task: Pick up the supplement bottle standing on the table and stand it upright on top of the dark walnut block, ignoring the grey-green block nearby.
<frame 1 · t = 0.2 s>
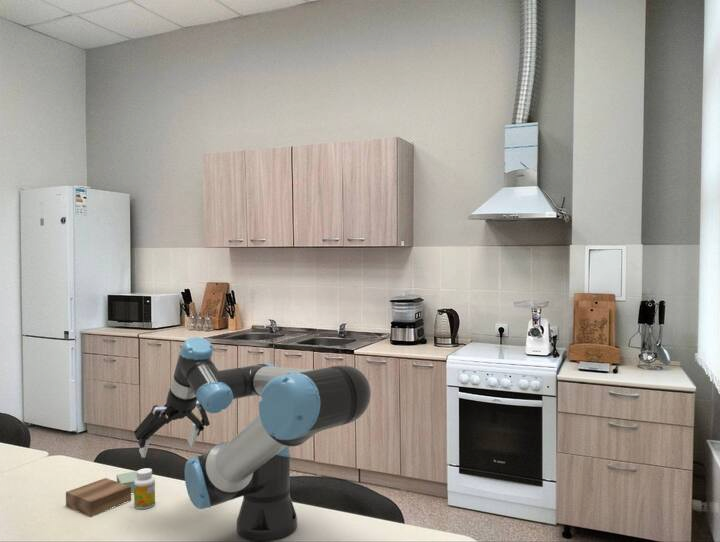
hand: (166, 448, 156), 16 cm above the table, tool tilted 30°, fingers open, 13 cm apart
walnut block: (98, 503, 158), on the table
greygreen block: (133, 489, 169), on the table
supplement bottle: (144, 506, 157), on the table
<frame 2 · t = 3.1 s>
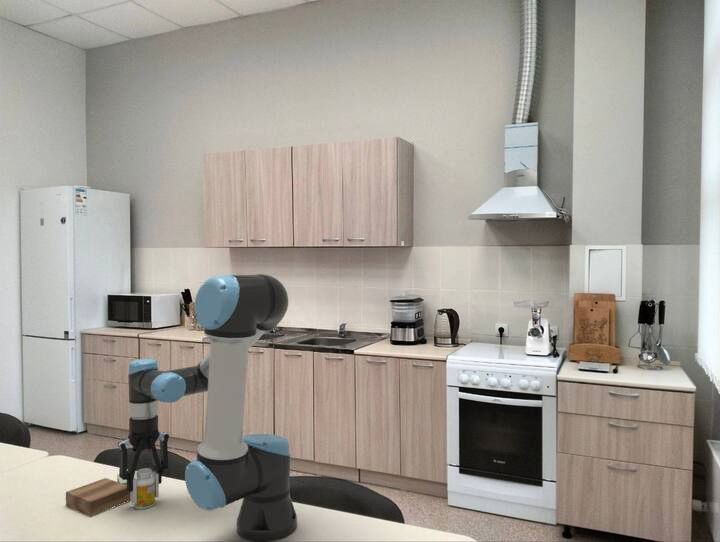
hand: (144, 498, 157), 2 cm above the table, tool pointing down, fingers closed on supplement bottle, 5 cm apart
supplement bottle: (144, 506, 157), on the table, touching gripper
everything else where it was.
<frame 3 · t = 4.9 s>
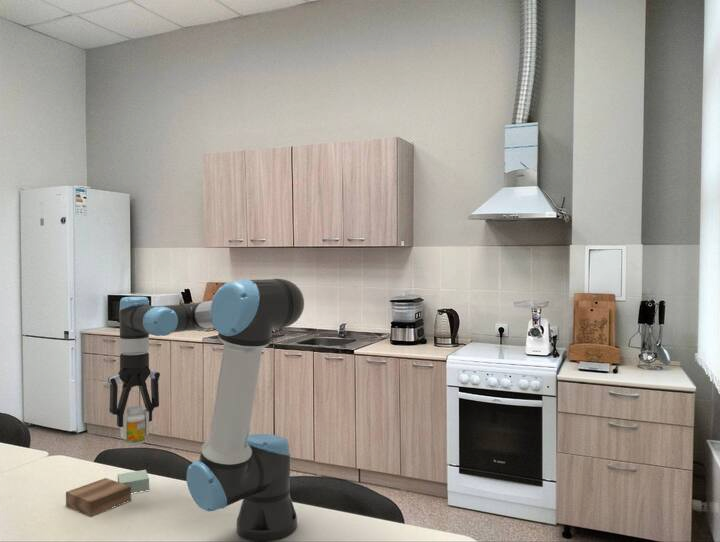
hand: (134, 435, 157), 19 cm above the table, tool pointing down, fingers closed on supplement bottle, 5 cm apart
supplement bottle: (134, 442, 157), point 17 cm above the table, touching gripper
everything else where it was.
when the fingers open (6 cm above the table, at t = 7.2 s): supplement bottle stays where it is, resting on walnut block.
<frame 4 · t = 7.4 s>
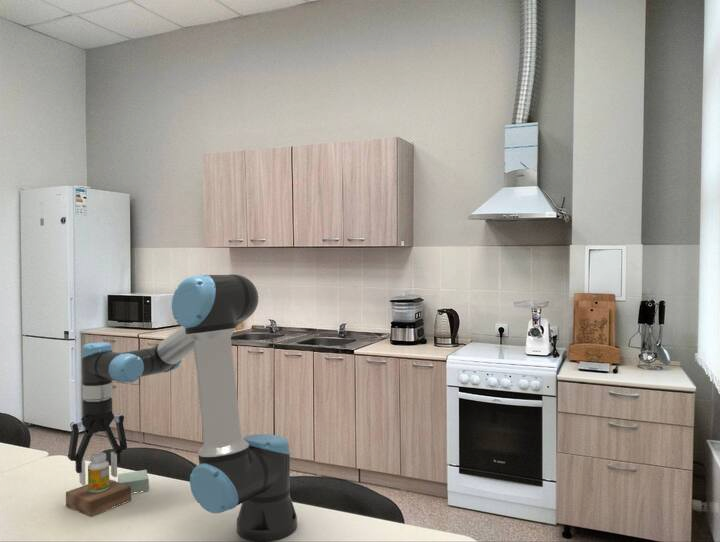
hand: (98, 479, 158), 7 cm above the table, tool pointing down, fingers open, 8 cm apart
supplement bottle: (98, 489, 158), point 4 cm above the table, touching walnut block
everything else where it was.
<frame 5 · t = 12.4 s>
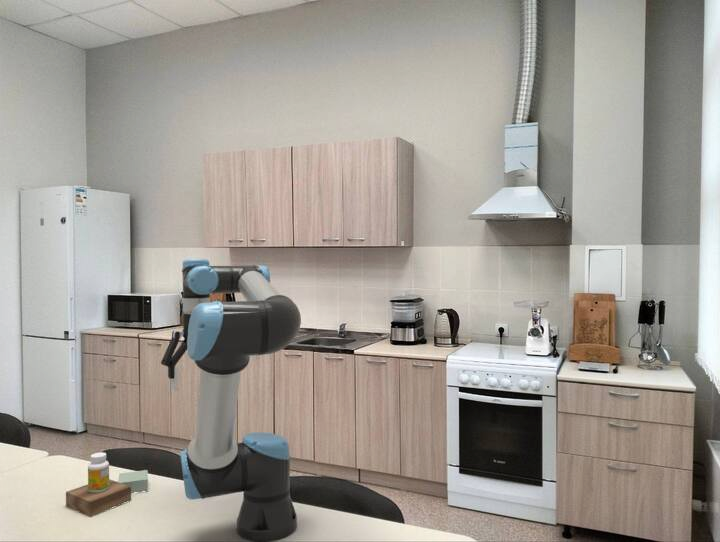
hand: (197, 386, 163), 32 cm above the table, tool pointing down, fingers open, 13 cm apart
nothing on the table moved.
at the end: supplement bottle inside the target area on the walnut block (0.0 cm from its centre), point 3.8 cm above the walnut block's base; supplement bottle tilted 0°; the gripper is holding nothing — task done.
